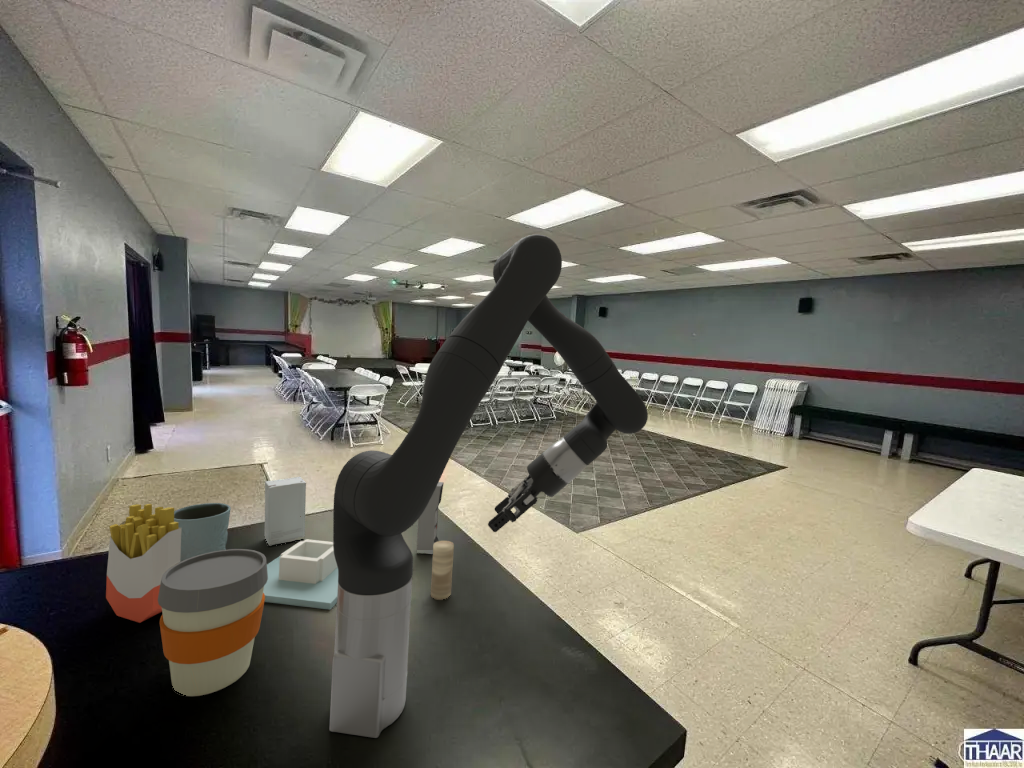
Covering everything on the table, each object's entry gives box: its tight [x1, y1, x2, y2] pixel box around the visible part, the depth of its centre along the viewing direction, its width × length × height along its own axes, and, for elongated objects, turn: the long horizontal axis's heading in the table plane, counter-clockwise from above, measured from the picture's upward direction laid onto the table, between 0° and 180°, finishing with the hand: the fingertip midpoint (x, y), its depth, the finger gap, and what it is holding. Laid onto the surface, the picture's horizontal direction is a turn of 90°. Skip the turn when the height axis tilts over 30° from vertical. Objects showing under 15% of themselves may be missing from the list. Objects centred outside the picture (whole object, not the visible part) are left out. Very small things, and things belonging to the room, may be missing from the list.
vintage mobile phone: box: [416, 481, 444, 551], centre depth 100 cm, size 4×5×25 cm
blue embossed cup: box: [174, 502, 232, 562], centre depth 87 cm, size 10×10×12 cm
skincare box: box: [264, 476, 307, 545], centre depth 102 cm, size 8×6×15 cm
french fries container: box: [105, 503, 181, 624], centre depth 70 cm, size 5×11×18 cm, turn 74°
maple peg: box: [430, 540, 455, 601], centre depth 82 cm, size 4×4×10 cm
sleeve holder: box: [263, 538, 338, 610], centre depth 86 cm, size 20×20×6 cm
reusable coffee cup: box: [158, 548, 268, 697], centre depth 58 cm, size 12×13×15 cm
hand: (494, 519), depth 81 cm, fingers open, 8 cm apart
